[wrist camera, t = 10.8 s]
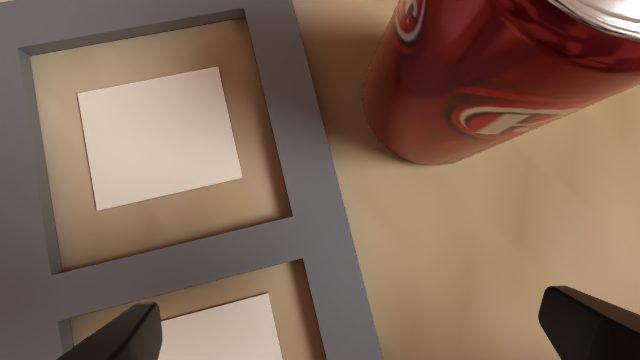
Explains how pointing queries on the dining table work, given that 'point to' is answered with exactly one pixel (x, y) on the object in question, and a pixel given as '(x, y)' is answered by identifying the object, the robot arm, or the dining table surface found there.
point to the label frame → (170, 186)
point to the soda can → (494, 70)
